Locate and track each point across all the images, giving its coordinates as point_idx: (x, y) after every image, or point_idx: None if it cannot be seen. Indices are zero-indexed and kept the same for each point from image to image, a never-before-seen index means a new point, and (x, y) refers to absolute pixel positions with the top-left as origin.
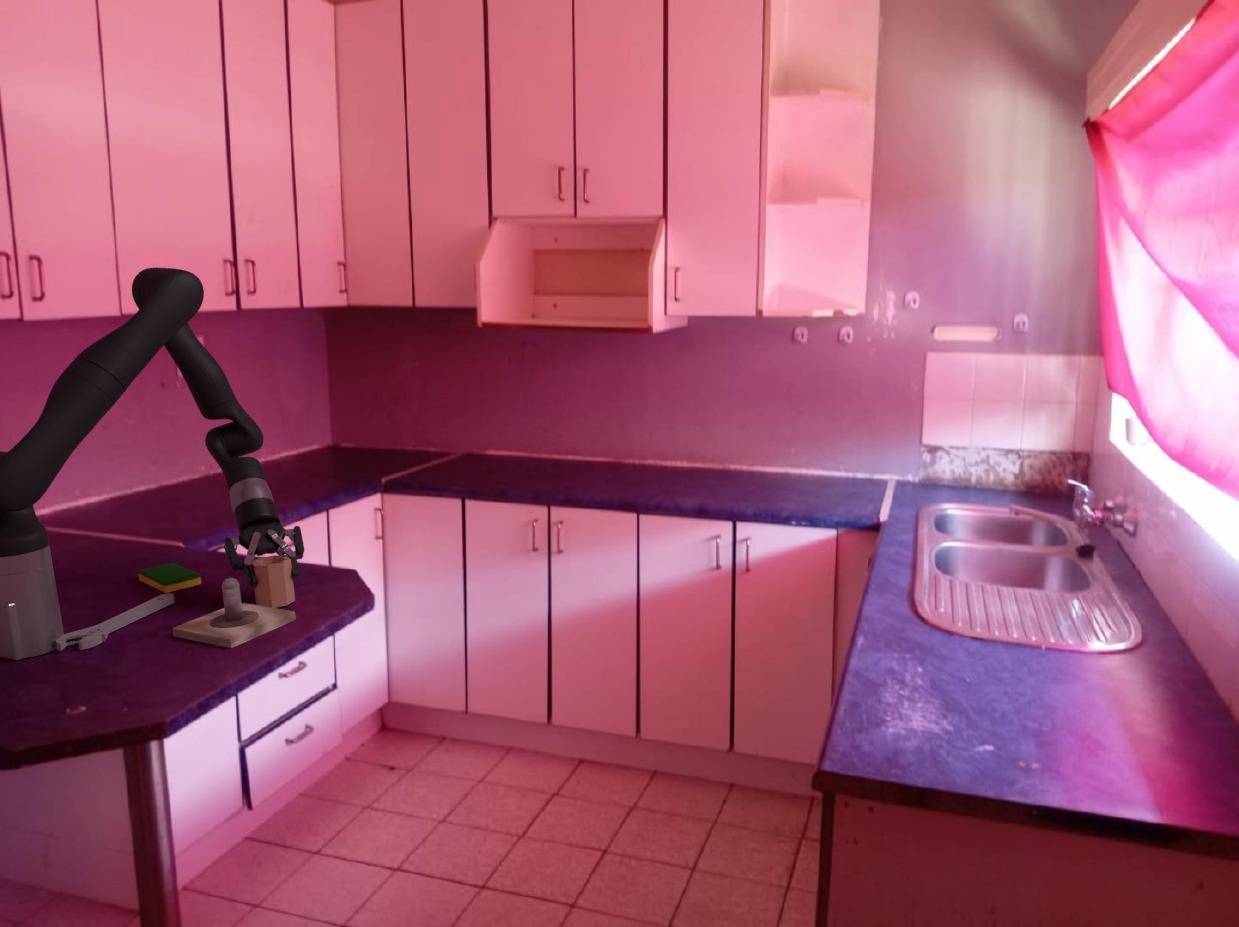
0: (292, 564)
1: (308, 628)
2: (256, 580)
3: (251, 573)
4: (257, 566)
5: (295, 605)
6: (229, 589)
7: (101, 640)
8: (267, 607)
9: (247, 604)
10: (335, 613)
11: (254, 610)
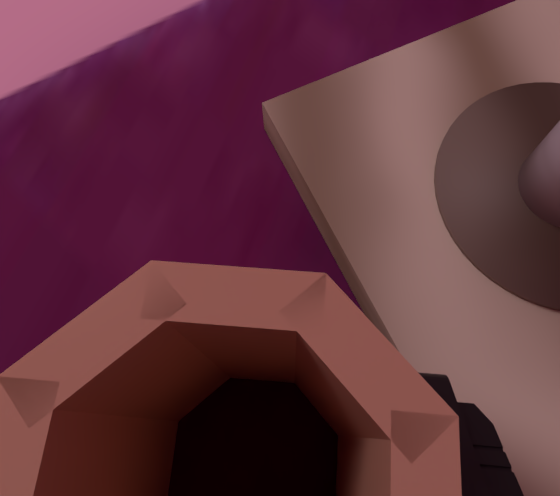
0: None
1: (262, 6)
2: (419, 373)
3: (469, 444)
4: (423, 385)
5: None
6: None
7: None
8: (360, 263)
9: None
10: (94, 91)
11: (437, 264)
